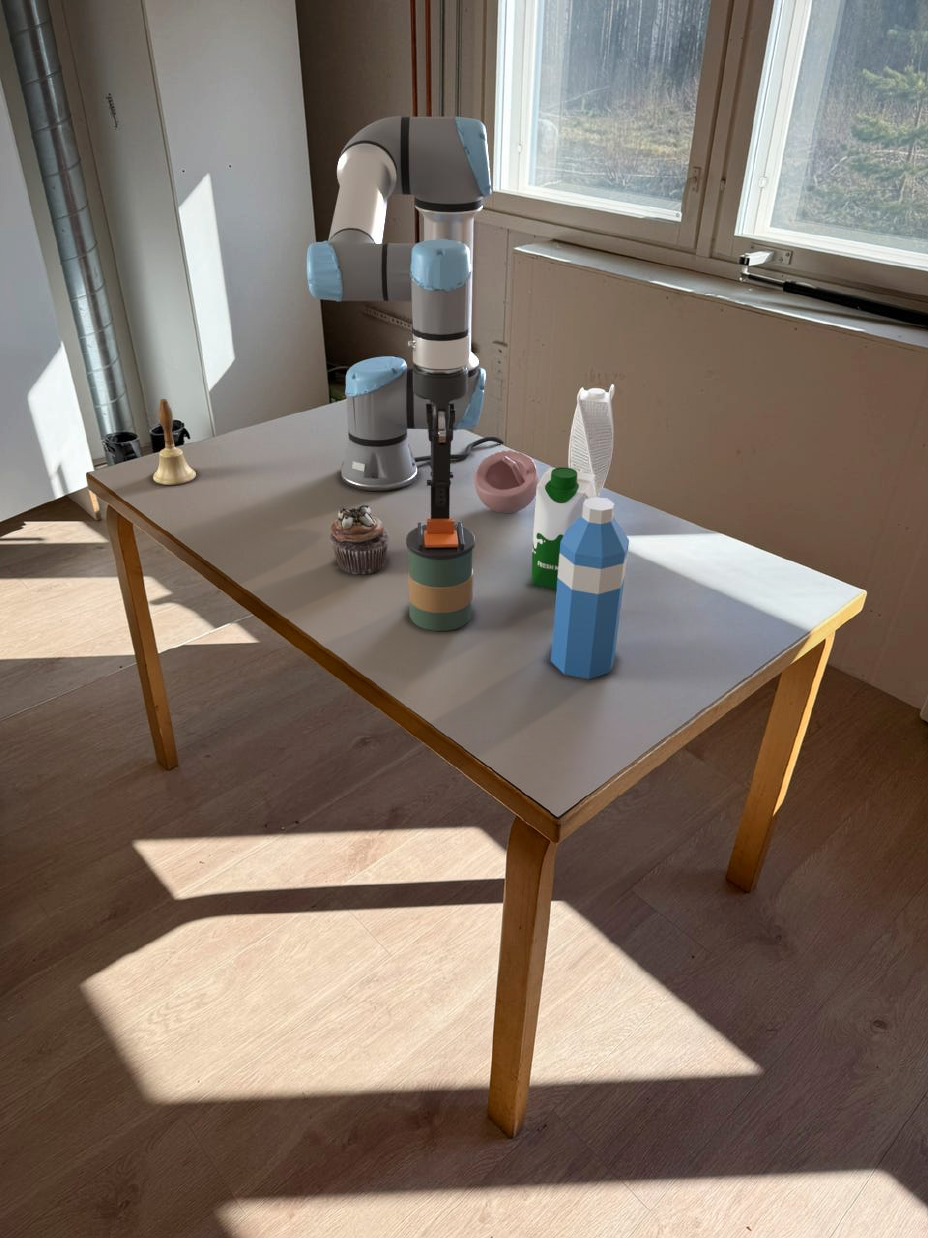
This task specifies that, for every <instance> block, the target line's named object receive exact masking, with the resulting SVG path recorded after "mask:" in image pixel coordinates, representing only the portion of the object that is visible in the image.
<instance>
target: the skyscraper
mask: <svg viewBox="0 0 928 1238" xmlns="http://www.w3.org/2000/svg"><path fill="white" fill-rule="evenodd" d="M614 395H615V384H613V383H612V384H611V385H610V386H609V390H608V392H607V391H606V390H605V389H604V388H600V387H592V388H589V389H587V390H585V389H584V387H581V388H580V389H579V391H578V392H577V396H576V402H577V404H576V407H575V410H574V415H573V418H572V423H571V430H570V436H569V443H568V458H567V459H568V460H567V462H568V464H567V465H568V468H571V469H574V470H575V471H577V472H583V473H590V474H595V479H594V497H600V496H601V493H602V491H603V489H604V486H605V483H606V480H607V477H608V474H609V472H610V466H611V464H612V463H611V462H612V458H613V452H614V439H615V438H614V437H615V436H614V435H615V434H614V431H615V430H614V418H613V417H614V416H613V406H612V400H613V397H614Z"/></svg>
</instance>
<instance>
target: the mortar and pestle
mask: <svg viewBox="0 0 928 1238" xmlns="http://www.w3.org/2000/svg"><path fill="white" fill-rule="evenodd" d="M474 473H475V474H474V489H475V491H476V494H477V497H478V498H479V500H480V501H481V502H482V504H483V505H485V506H486V507H487V508H488V509H490V510H491V511H493V512H496V513H500V514H513V513H517V512H520V511H522V510H523V509H525V508H527V507H528V506H529V505H530V504H531V503H532V501H534V499H535V498H536V491H537V485H538V483H539V482H540V475H539V471H538V468H537V465H536V463H535V461H534V460H533V459H532V457H530V456H528V455H527V454H525V453H523V452H521V451H514V450H512V449H510V450H501V451H496V452H494V453H493V454H490V455H489V456H487V457H485V458H484V459H483V460H482V461H481V462H480V463H479V465H478V466H477V468H476V470H475V472H474Z"/></svg>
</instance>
